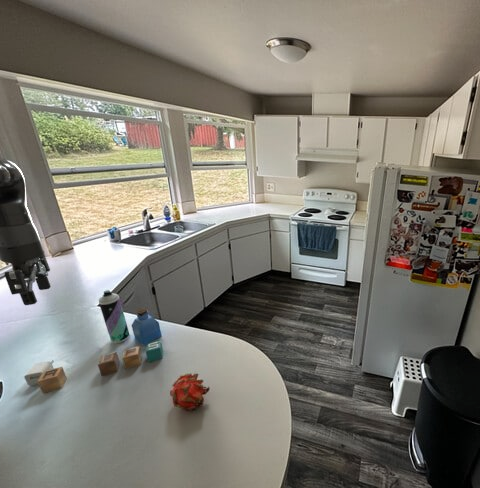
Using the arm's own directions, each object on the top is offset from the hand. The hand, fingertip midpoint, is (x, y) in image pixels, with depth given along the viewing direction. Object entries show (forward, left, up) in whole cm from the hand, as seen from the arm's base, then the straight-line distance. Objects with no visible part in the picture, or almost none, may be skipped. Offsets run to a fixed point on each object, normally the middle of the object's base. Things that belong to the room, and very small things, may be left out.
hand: (38, 296), depth 69 cm
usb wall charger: (-6, +2, -28) cm, 29 cm away
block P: (+17, -4, -28) cm, 33 cm away
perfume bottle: (+20, +8, -28) cm, 35 cm away
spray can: (+11, +12, -28) cm, 32 cm away
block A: (-2, -4, -28) cm, 28 cm away
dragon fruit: (+33, -28, -28) cm, 51 cm away
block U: (+11, -4, -28) cm, 30 cm away
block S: (+23, -4, -28) cm, 36 cm away
